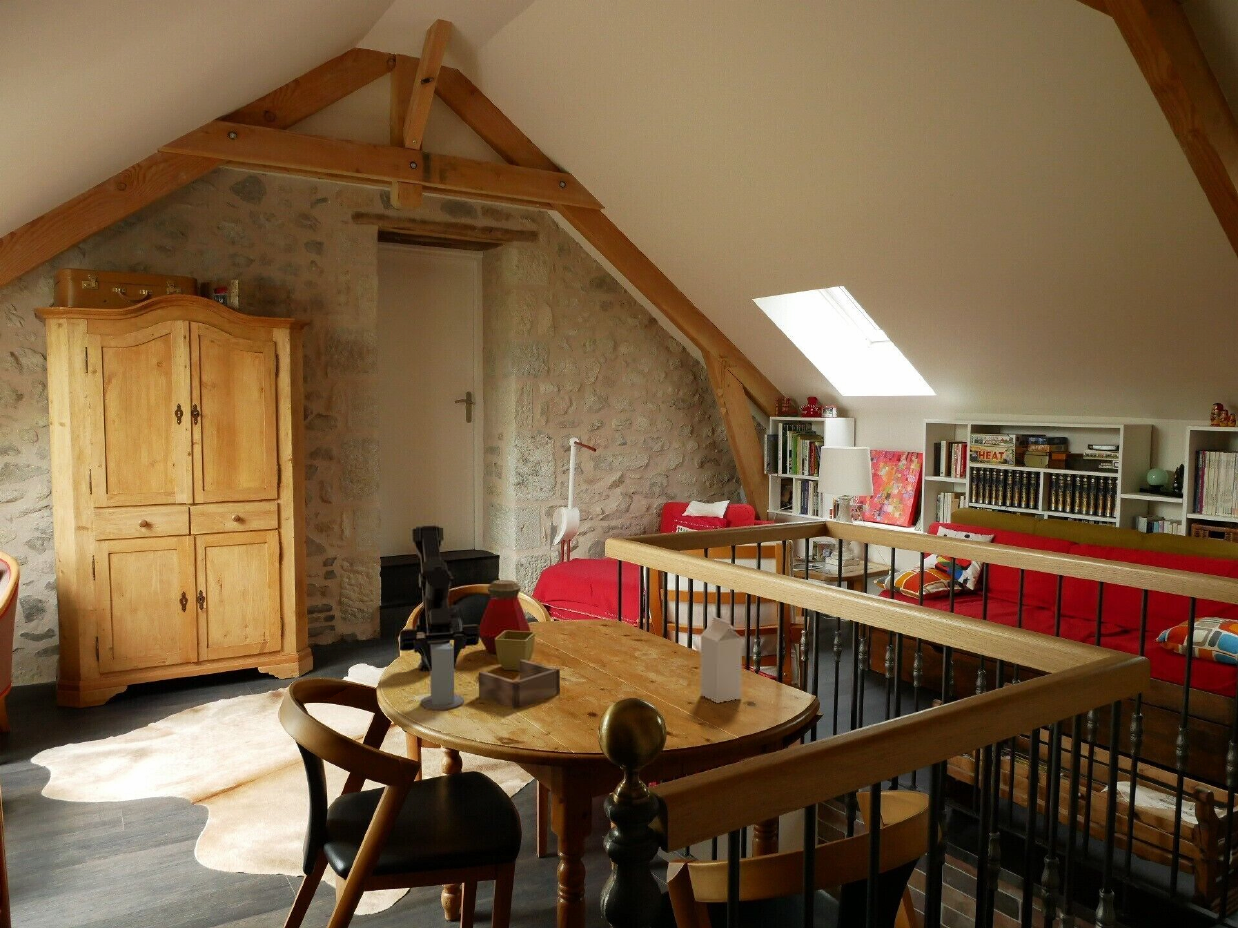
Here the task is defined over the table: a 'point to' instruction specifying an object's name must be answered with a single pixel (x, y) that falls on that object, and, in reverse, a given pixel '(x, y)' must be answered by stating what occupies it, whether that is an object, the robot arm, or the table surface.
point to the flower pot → (514, 648)
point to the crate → (521, 685)
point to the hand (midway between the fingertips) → (442, 668)
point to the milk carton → (721, 662)
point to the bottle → (502, 613)
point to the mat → (428, 704)
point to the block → (442, 673)
